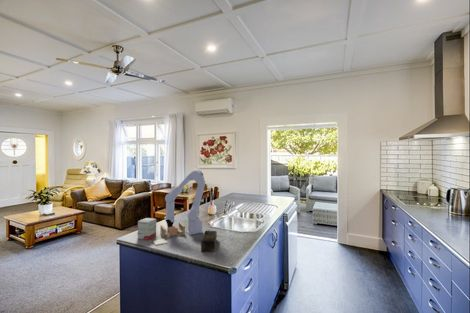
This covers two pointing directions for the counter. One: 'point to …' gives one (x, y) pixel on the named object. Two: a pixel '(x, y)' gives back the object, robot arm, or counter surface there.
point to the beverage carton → (209, 241)
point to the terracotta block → (172, 230)
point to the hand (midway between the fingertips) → (169, 229)
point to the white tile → (160, 242)
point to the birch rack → (166, 235)
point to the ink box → (146, 228)
